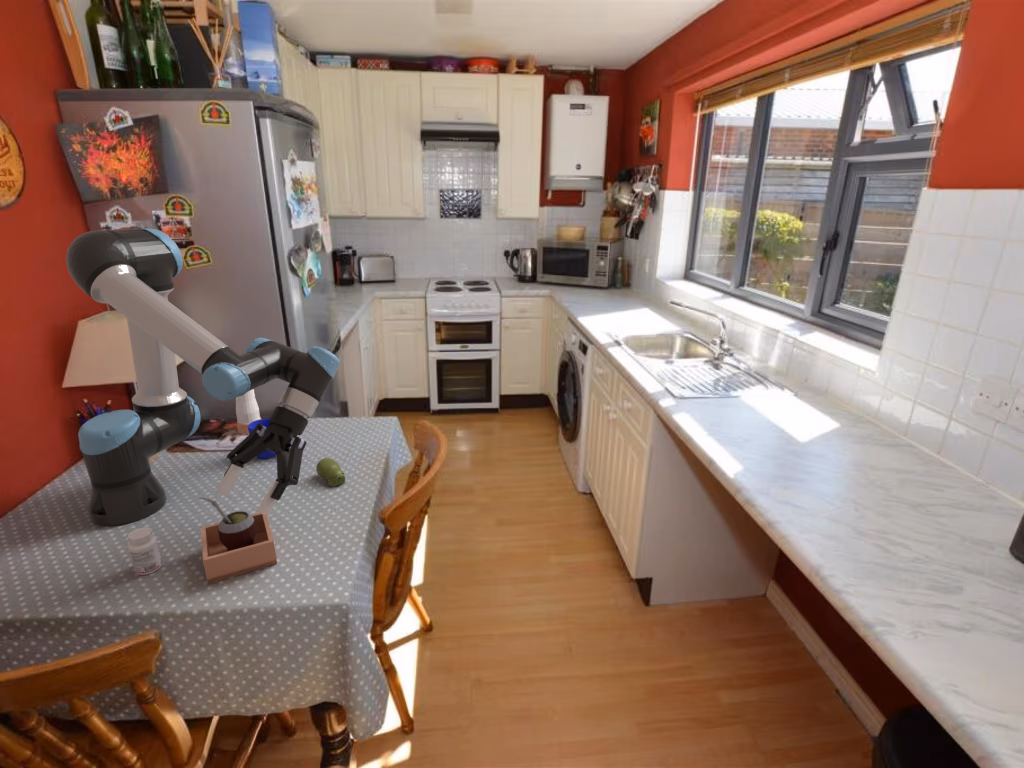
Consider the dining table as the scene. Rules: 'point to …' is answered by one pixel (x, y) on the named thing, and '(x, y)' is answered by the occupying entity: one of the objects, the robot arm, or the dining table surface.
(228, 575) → the box
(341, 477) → the pear
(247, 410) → the pepper shaker
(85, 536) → the dining table surface
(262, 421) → the mug
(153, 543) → the pill bottle
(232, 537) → the mate gourd
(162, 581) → the dining table surface
